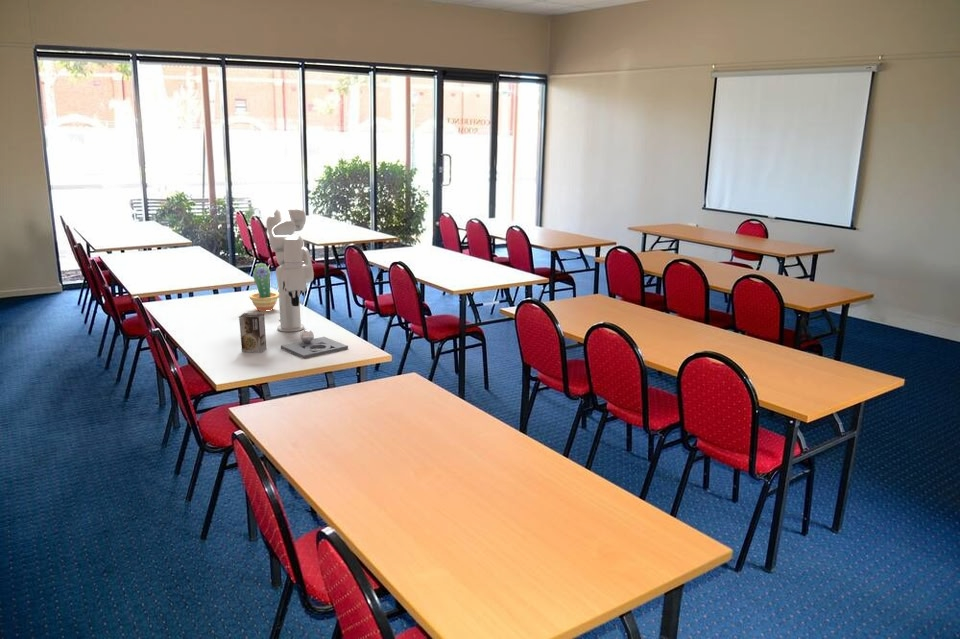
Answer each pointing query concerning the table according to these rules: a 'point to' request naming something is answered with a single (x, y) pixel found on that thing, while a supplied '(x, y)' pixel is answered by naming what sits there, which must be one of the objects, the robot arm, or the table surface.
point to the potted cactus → (263, 289)
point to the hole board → (309, 348)
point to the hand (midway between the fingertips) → (295, 305)
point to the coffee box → (252, 332)
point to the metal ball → (306, 336)
